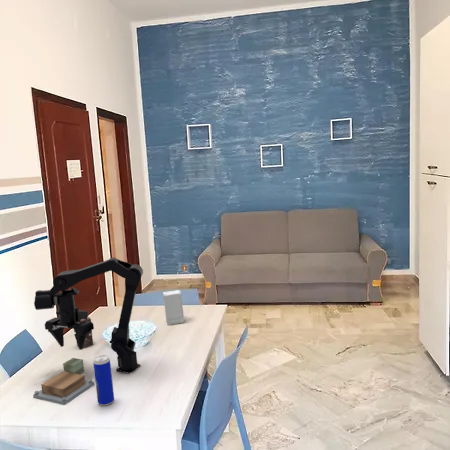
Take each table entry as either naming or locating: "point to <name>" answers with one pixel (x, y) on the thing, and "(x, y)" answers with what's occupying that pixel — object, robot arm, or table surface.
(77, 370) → the block
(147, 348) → the table surface
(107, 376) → the beverage can
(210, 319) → the table surface
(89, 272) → the robot arm
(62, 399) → the baseplate
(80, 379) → the base brick
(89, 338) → the box
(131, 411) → the table surface
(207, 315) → the table surface
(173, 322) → the skincare box
